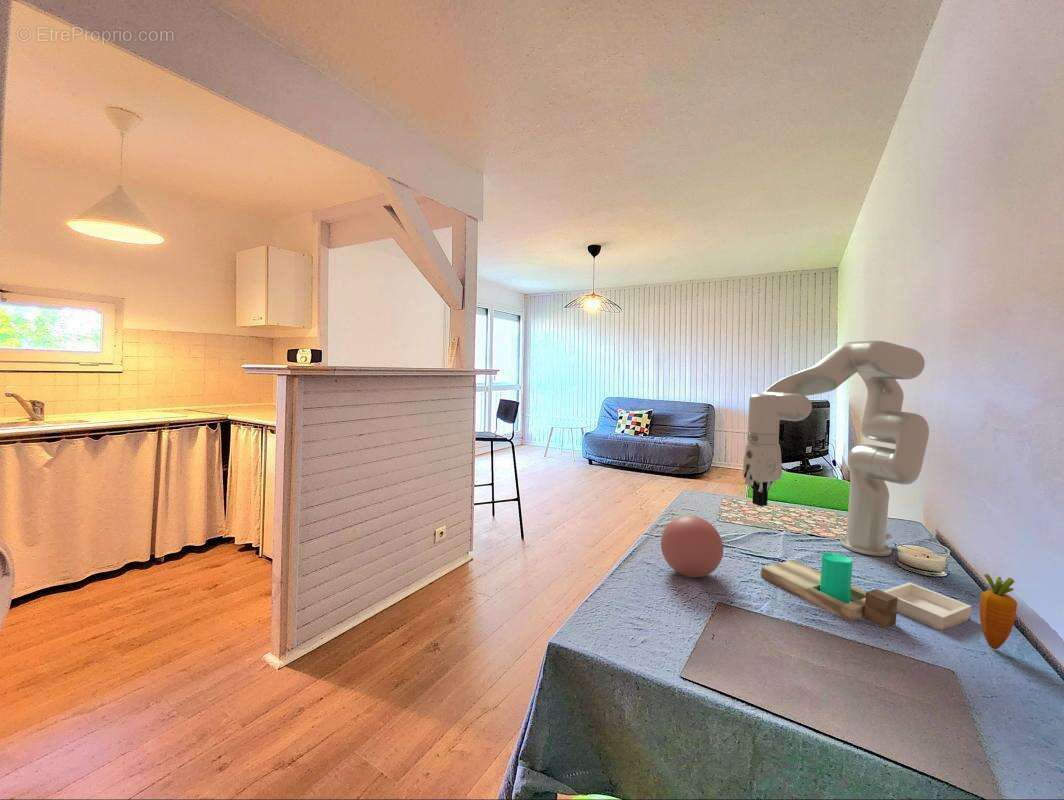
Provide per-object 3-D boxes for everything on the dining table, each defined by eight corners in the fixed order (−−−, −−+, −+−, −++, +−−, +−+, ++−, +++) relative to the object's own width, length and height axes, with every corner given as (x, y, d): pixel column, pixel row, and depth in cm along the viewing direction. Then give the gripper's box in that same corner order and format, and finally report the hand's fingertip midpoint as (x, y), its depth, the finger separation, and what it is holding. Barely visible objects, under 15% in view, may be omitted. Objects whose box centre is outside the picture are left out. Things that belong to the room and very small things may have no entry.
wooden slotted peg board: (792, 568, 121) (792, 559, 121) (882, 609, 101) (883, 599, 101) (761, 576, 117) (761, 567, 116) (849, 621, 97) (850, 610, 96)
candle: (854, 608, 102) (858, 557, 101) (824, 605, 103) (828, 554, 102) (843, 595, 108) (846, 547, 107) (815, 592, 109) (818, 544, 108)
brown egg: (740, 571, 120) (743, 515, 119) (702, 595, 107) (705, 532, 106) (688, 552, 131) (690, 501, 130) (648, 572, 118) (650, 515, 117)
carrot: (968, 641, 90) (975, 569, 89) (991, 640, 90) (998, 569, 89) (996, 658, 85) (1003, 582, 84) (1019, 656, 85) (1027, 581, 84)
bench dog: (874, 614, 99) (876, 588, 99) (895, 624, 96) (897, 597, 95) (863, 618, 98) (865, 592, 97) (884, 628, 94) (886, 601, 94)
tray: (908, 594, 109) (909, 582, 108) (970, 619, 98) (971, 606, 98) (880, 603, 104) (881, 591, 104) (941, 631, 93) (943, 617, 93)
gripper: (754, 443, 116) (751, 512, 117) (794, 439, 122) (790, 505, 123) (731, 438, 122) (728, 504, 124) (769, 435, 129) (766, 497, 130)
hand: (759, 504), depth 124 cm, fingers closed
